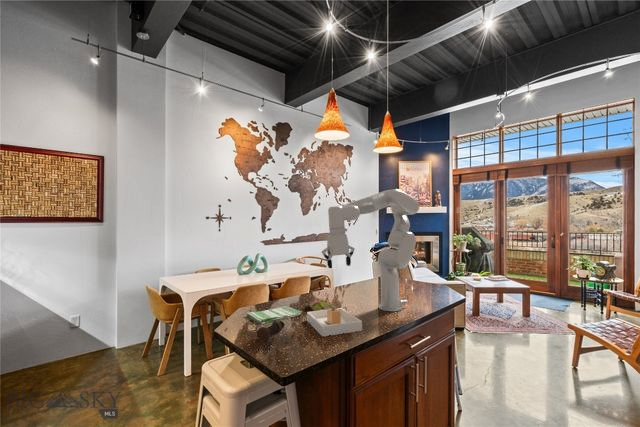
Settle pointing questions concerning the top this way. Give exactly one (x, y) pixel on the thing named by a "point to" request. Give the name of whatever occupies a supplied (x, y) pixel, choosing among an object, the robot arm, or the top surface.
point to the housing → (325, 329)
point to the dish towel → (273, 314)
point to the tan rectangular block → (333, 316)
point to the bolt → (269, 330)
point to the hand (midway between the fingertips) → (339, 266)
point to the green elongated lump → (318, 304)
